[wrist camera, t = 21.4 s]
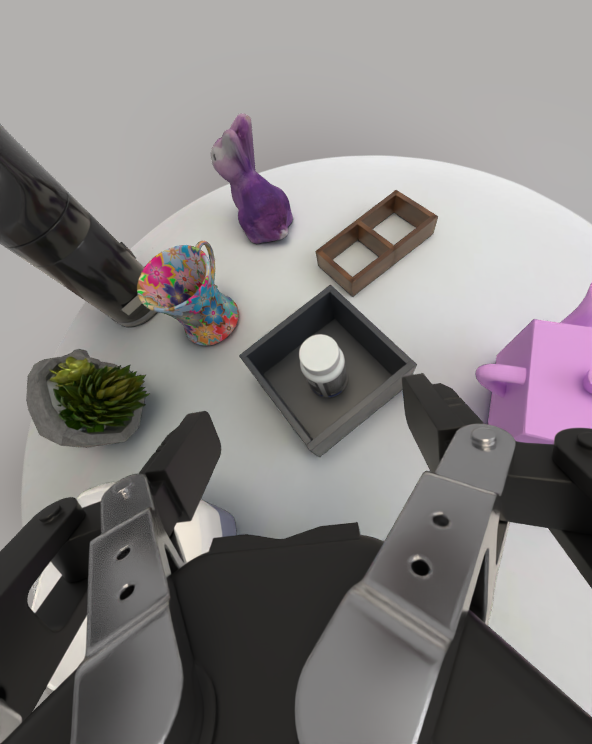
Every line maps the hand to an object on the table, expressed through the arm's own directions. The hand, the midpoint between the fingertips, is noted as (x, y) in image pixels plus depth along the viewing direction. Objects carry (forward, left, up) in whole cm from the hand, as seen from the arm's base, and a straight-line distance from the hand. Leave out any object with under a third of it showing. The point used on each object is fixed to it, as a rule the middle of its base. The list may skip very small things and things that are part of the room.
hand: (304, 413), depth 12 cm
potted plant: (-25, -19, -24) cm, 39 cm away
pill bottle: (-8, +5, -23) cm, 25 cm away
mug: (-28, -1, -24) cm, 36 cm away
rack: (-20, +22, -24) cm, 38 cm away
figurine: (-37, +14, -24) cm, 46 cm away
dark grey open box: (-9, +5, -24) cm, 26 cm away
